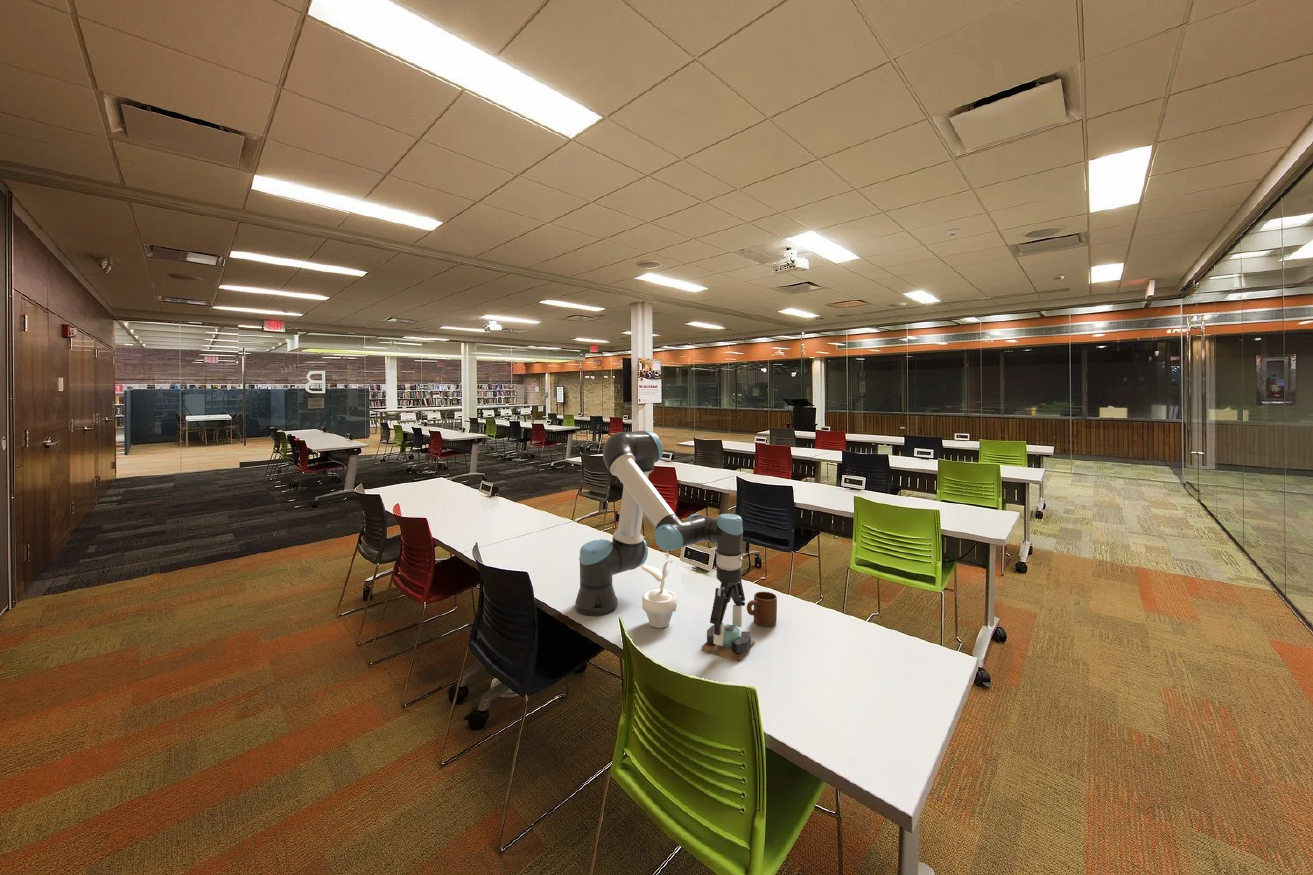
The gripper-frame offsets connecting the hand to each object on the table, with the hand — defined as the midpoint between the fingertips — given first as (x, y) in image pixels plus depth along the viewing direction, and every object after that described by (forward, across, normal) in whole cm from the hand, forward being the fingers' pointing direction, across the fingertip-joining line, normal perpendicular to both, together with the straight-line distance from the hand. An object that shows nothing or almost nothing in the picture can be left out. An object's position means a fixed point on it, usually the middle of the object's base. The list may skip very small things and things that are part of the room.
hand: (728, 634), depth 143 cm
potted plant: (+4, +1, +26) cm, 26 cm away
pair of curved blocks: (+4, 0, 0) cm, 4 cm away
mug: (+4, +19, -3) cm, 20 cm away
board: (+4, 0, 0) cm, 4 cm away
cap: (+3, 0, 0) cm, 3 cm away
